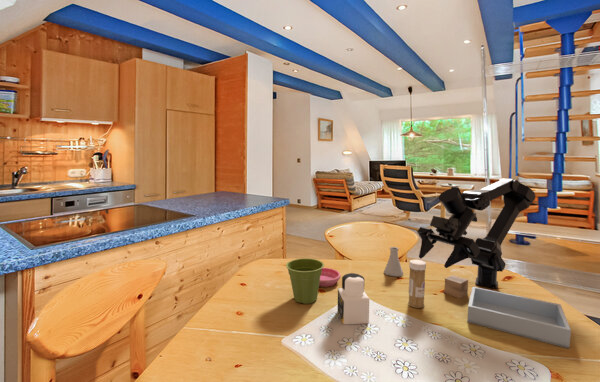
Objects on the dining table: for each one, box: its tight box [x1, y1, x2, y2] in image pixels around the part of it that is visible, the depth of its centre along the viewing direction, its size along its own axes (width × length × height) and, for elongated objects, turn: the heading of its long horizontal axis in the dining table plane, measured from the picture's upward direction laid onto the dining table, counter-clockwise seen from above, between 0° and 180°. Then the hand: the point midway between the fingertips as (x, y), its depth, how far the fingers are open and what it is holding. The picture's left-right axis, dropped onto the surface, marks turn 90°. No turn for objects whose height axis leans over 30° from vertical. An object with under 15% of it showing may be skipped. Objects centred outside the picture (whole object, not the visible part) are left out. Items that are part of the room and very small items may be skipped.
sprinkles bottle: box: [407, 259, 427, 309], centre depth 89 cm, size 5×5×13 cm
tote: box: [466, 286, 572, 349], centre depth 80 cm, size 15×21×4 cm
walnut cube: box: [443, 274, 469, 299], centre depth 97 cm, size 5×5×5 cm
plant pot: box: [285, 257, 325, 305], centre depth 93 cm, size 12×12×11 cm
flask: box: [383, 246, 404, 277], centre depth 114 cm, size 7×7×10 cm
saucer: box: [319, 267, 341, 288], centre depth 107 cm, size 12×12×3 cm
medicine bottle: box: [337, 272, 370, 325], centre depth 82 cm, size 7×7×12 cm
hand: (431, 262), depth 91 cm, fingers open, 9 cm apart
